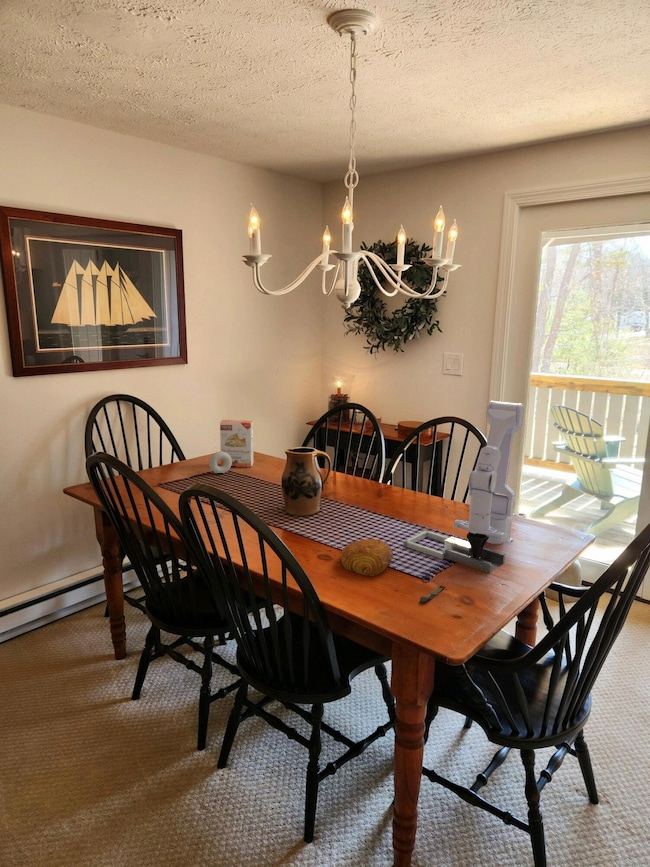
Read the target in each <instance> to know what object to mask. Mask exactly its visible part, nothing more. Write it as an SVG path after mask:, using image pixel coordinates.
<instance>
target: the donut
mask: <svg viewBox="0 0 650 867" xmlns="http://www.w3.org/2000/svg"><path fill="white" fill-rule="evenodd" d="M221 459H223V460H224V464H223V465H222V466H221V465H220V466H219V465H218V462H219V461H221ZM208 465H209V468H210V470H211V471H212V472H213V473H215V474H217V473H223V474H226V473H227V472H228V471H229V470H230V469H231V468H232V467H231V465H232V459H231V457H230V455H229V454H228V453H226V452H221V450H220V451H217V452H215V453H213V455H212V456H210V459H209V463H208ZM225 472H226V473H225Z"/></svg>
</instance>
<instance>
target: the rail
mask: <svg viewBox="0 0 650 867" xmlns="http://www.w3.org/2000/svg"><path fill="white" fill-rule="evenodd" d="M444 559H447V560H450V561H454V562H457V563H460V564H462V565H465V566H468V567H471V568H473V569H476V570H480V571H483V572H484V573H488V574H491V573H492V572H493V571H495V570H496V569H498V568H499V567H500V566H502V565H503V564H505V562H506V561H505V560H506V553H503V552H500V551H499V552H498V551H496V550H492V549H489V548H486V547H483V549H482V552H481V555H480V557H479V558H475V557H472V556H469V555H466V554H463V553H460V552H457V551H454V550H451V549H448V548H446V549H445V553H444Z"/></svg>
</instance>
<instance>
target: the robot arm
mask: <svg viewBox="0 0 650 867" xmlns="http://www.w3.org/2000/svg"><path fill="white" fill-rule="evenodd" d="M485 414H486V419H487V423H488V425H489V429H488V430H489V431H488V434H487V439H486V446H484V447H482V448H481V449H480V452H479V455H478V457H477V462H476V464H475V467H474V470H471V472H470V474H469V477H468V478H469V479H468V490H469V491H468V492H469V493H468V494H469V496H470V502H469V517H468V521H467V520H462V519H455V520H454V521H453V528H455V529H462V530H465V531H467V532H468V533H467V534H466V538H467V540H468V542H469V543H470V545H471V549H472V553H473V557H475V558H479V557H480V555H481V552H482V549H483V547H484V546H485V545H486V543H489V544H492V545H493V544H494V545H499V544H500V545H501V544H502V545H503V544H504V543H506V542H512V541H514V539H513V538H512V537H511V533H512V516H513V515H514V510H515V505H516V500H515V499H516V493H515V491H514V490H513V488H511V487H510V486H509V485H508V479H509V473H510V464H511V458H512V452H513V451H512V449H513V442H514V437H515V434H516V432H519V431H521V430H522V427H523V423H524V416H525V406H524V404H523V403H521V402H519V403H515V402H505V401H495V400H490V402H488V403H487V406H486V412H485ZM484 548H485V547H484Z"/></svg>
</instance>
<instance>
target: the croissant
mask: <svg viewBox="0 0 650 867" xmlns="http://www.w3.org/2000/svg"><path fill="white" fill-rule="evenodd" d="M340 555H341V564H342V565H343V568H344V569H345V570H346V571H349V572H354V573H356V574H358V575H364V576H368V577H374V576H375V577H376V576H378V575H379V574H381V573H382V572H384V571H385V570H386V569H387V567H388V566H389V564H390V563H391V562H392V560H393V555H394V552H393V549H392V547H391V546H390V544H389V545H388V544H387V543H386V542H385V541H383V540H381V539H377V538H366V539H365V538H364V539H359V540H354V541H352V542H350V543H349V544H347V545H346V546H344V547H343V549H342V550H341V552H340Z"/></svg>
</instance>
